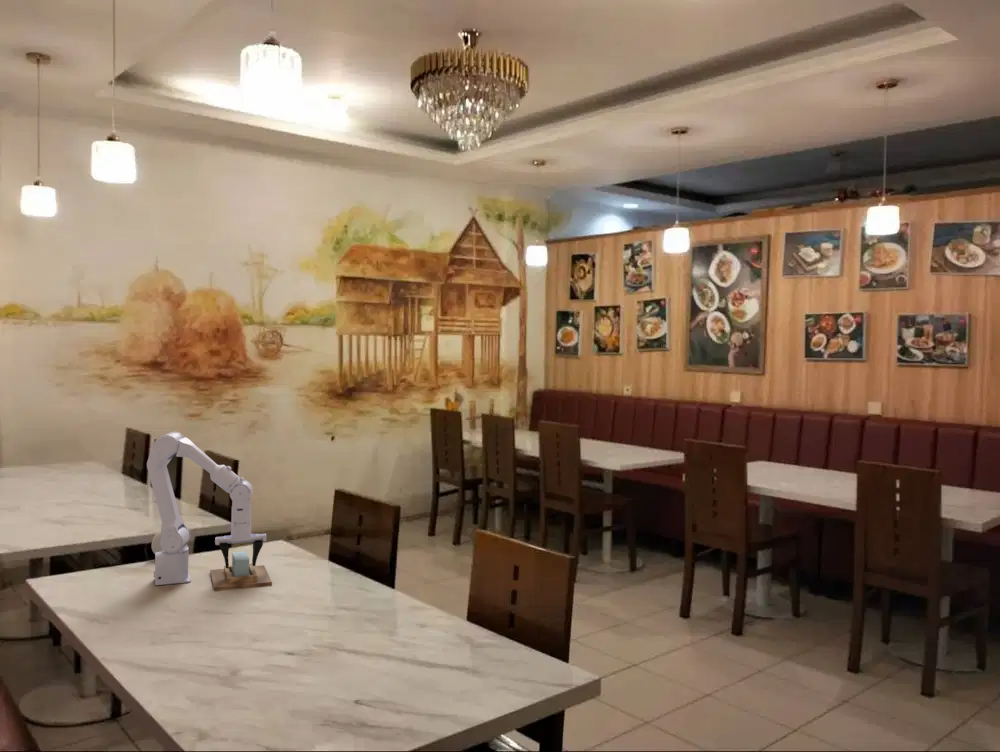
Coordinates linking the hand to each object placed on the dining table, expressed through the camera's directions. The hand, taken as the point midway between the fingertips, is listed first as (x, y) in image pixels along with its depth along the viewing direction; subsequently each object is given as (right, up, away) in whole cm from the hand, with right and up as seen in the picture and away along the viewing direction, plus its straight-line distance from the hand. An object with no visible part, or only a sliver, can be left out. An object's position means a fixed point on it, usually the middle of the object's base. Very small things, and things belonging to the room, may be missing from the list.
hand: (240, 566), depth 226 cm
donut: (-31, -3, +20) cm, 37 cm away
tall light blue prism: (0, -3, 0) cm, 3 cm away
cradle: (0, -4, 0) cm, 4 cm away
